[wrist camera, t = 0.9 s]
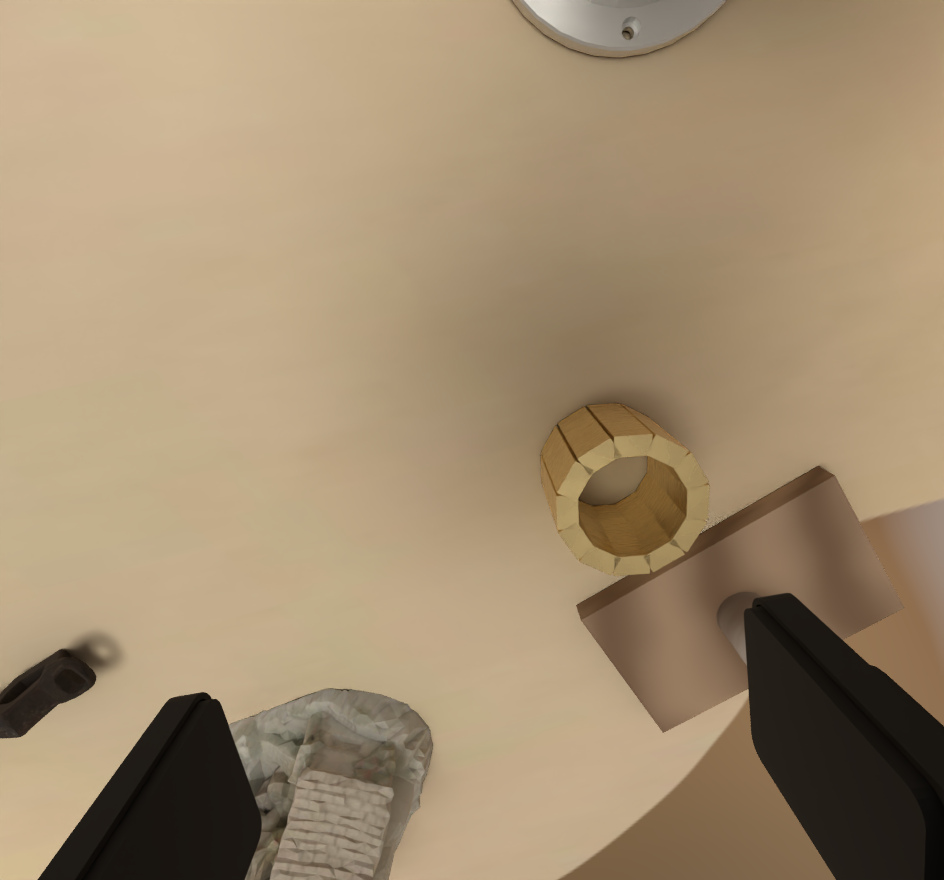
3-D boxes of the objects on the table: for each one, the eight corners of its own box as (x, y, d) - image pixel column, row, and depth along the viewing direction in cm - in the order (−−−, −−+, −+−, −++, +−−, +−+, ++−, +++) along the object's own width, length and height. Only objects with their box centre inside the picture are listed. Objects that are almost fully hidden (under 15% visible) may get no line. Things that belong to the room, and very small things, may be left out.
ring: (626, 379, 30) (662, 405, 24) (687, 479, 32) (734, 525, 26) (517, 449, 31) (527, 489, 25) (581, 542, 33) (605, 599, 27)
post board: (818, 466, 32) (969, 551, 22) (886, 593, 34) (1048, 720, 24) (576, 605, 34) (617, 736, 25) (655, 714, 37) (721, 872, 27)
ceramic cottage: (464, 729, 37) (433, 1023, 22) (364, 879, 42) (285, 1199, 27) (248, 626, 36) (69, 868, 21) (170, 793, 40) (-17, 1081, 26)
